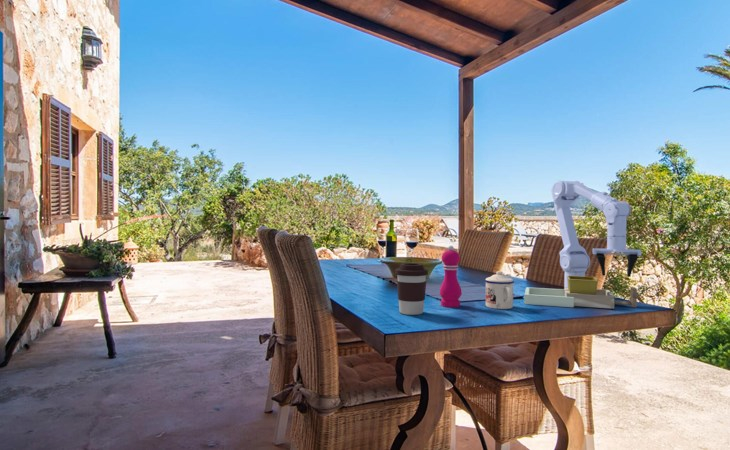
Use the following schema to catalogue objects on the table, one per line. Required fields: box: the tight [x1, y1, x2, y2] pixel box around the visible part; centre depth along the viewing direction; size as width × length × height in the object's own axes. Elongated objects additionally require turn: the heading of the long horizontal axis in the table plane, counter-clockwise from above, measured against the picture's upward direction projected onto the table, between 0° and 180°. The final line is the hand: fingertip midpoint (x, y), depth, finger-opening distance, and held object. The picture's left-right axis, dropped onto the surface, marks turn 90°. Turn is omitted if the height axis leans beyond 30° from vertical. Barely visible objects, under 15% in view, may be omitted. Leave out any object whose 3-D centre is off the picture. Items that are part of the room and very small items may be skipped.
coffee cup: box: [394, 262, 429, 316], centre depth 139 cm, size 10×10×15 cm
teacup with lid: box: [484, 270, 515, 310], centre depth 148 cm, size 12×9×12 cm
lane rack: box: [523, 286, 575, 308], centre depth 159 cm, size 17×15×3 cm
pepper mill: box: [439, 245, 462, 308], centre depth 151 cm, size 7×7×20 cm
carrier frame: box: [565, 286, 638, 309], centre depth 153 cm, size 14×21×6 cm, turn 69°
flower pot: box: [567, 275, 598, 295], centre depth 154 cm, size 9×9×9 cm
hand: (616, 275), depth 156 cm, fingers open, 7 cm apart
